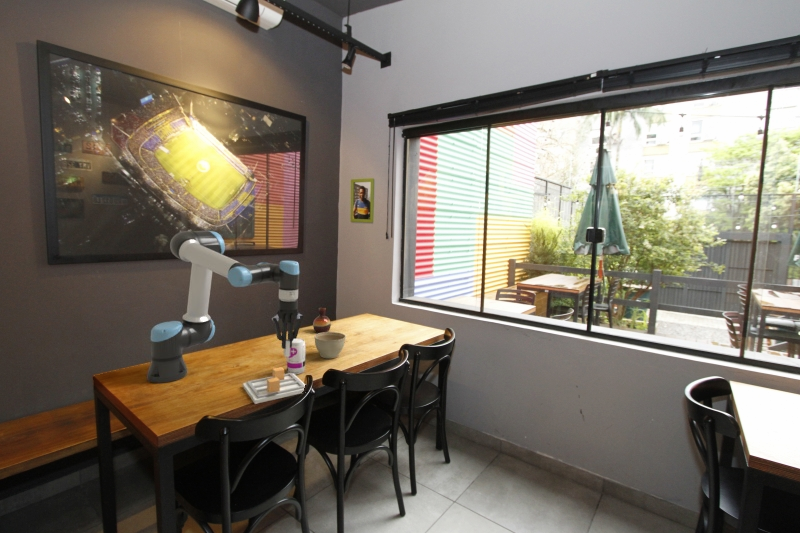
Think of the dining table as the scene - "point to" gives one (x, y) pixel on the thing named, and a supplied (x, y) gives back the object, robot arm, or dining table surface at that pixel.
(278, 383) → the tab
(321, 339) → the planter bowl
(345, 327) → the dining table surface
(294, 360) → the supplement can
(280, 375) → the orange block
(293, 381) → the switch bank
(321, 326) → the vase
